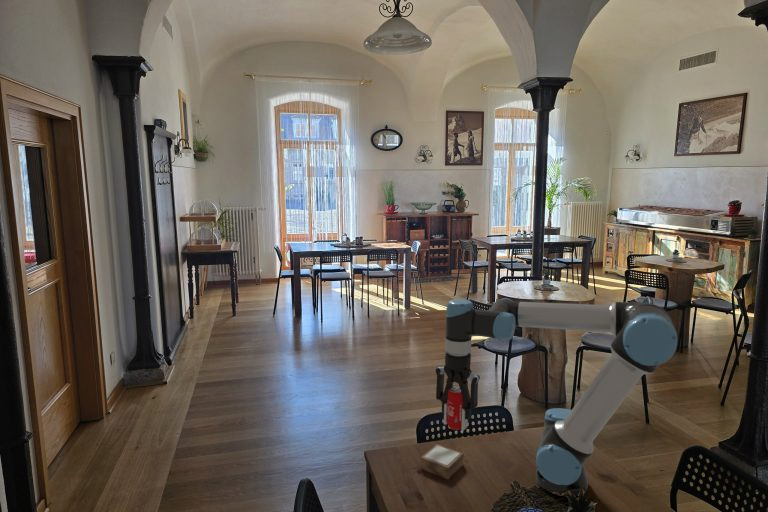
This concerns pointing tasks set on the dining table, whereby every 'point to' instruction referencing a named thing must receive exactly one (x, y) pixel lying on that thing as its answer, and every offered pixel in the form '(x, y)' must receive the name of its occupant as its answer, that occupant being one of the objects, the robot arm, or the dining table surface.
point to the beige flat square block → (442, 461)
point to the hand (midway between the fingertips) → (455, 425)
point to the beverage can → (455, 408)
